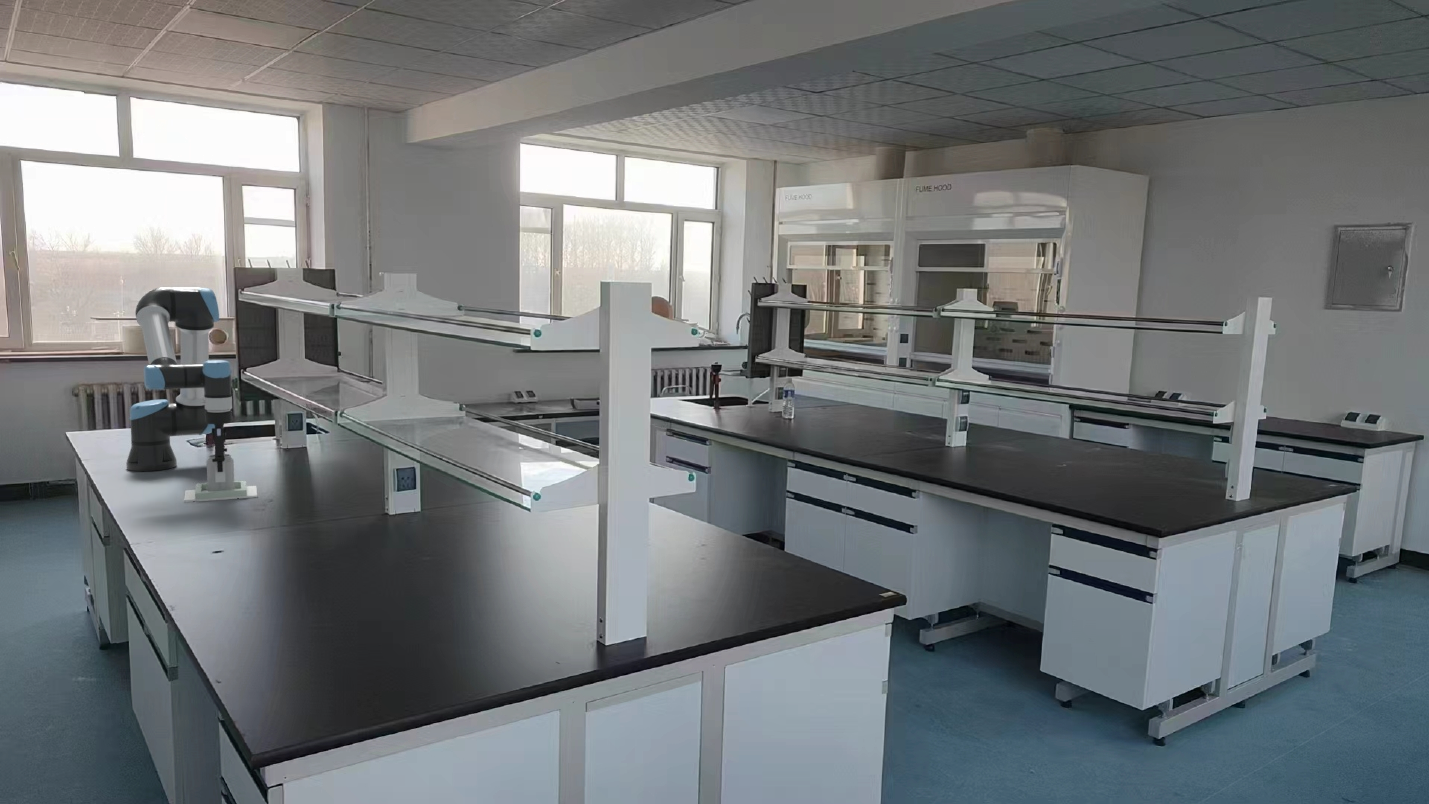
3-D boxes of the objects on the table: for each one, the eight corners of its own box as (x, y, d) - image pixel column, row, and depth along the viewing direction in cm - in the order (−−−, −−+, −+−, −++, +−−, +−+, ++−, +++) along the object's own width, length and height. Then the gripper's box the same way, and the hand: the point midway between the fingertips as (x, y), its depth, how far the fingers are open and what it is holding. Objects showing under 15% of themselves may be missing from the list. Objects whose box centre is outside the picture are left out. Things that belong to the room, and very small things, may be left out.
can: (226, 495, 289) (225, 457, 288) (202, 495, 289) (201, 457, 288) (239, 490, 297) (238, 453, 295) (216, 489, 297) (214, 452, 295)
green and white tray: (185, 492, 295) (185, 484, 294) (256, 487, 304) (256, 480, 303) (183, 502, 282) (183, 494, 282) (257, 497, 291) (257, 489, 291)
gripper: (205, 404, 299) (207, 469, 302) (203, 417, 277) (206, 486, 280) (231, 404, 302) (234, 468, 305) (232, 416, 280) (234, 485, 283)
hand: (220, 477), depth 292 cm, fingers open, 13 cm apart
